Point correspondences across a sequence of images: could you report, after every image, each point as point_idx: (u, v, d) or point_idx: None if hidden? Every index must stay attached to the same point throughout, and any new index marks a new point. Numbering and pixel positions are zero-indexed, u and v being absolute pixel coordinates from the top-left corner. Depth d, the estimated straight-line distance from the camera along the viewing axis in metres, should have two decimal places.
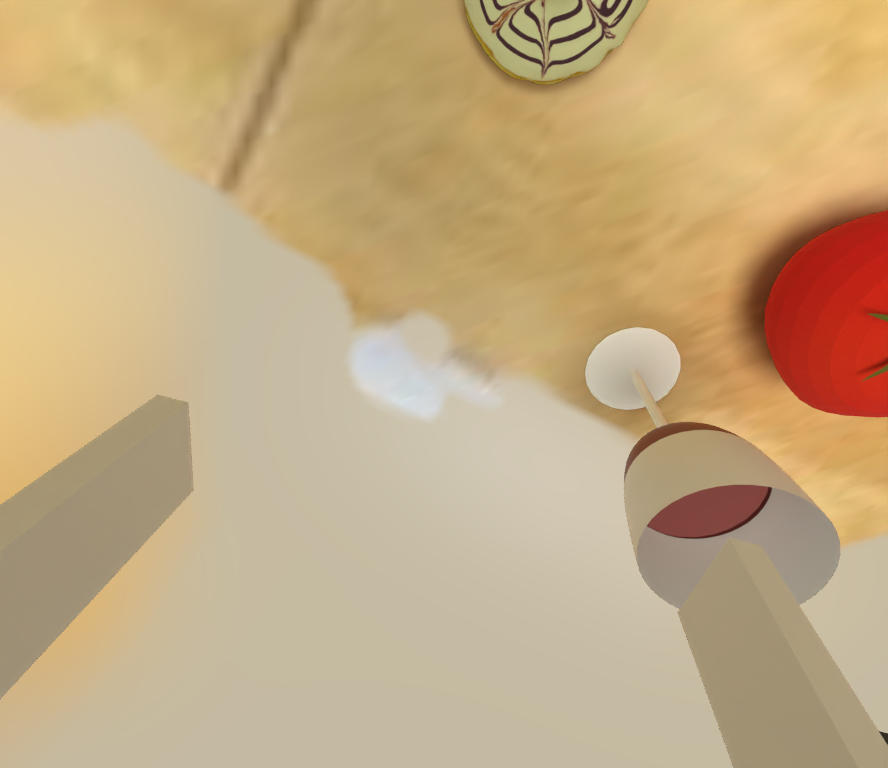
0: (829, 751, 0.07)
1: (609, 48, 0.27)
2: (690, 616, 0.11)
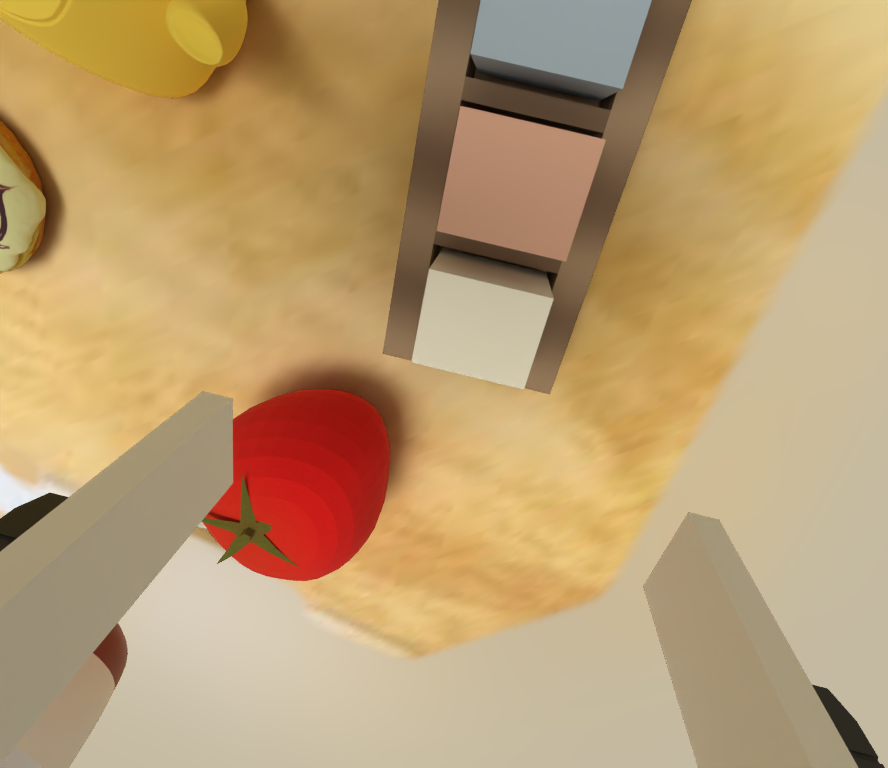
0: (763, 699, 0.08)
1: (13, 254, 0.30)
2: (653, 589, 0.12)
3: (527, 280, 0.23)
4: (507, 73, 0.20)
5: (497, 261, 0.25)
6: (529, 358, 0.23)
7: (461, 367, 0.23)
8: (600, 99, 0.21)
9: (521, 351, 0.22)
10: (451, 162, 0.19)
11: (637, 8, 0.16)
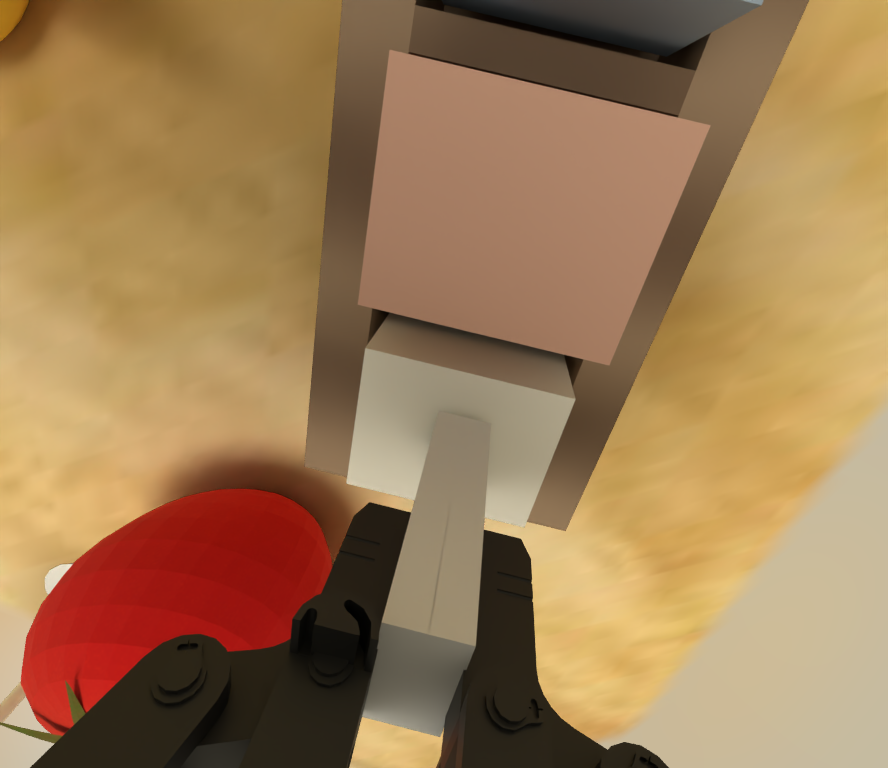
0: None
1: None
2: None
3: (530, 355, 0.14)
4: None
5: None
6: (533, 484, 0.14)
7: None
8: (671, 52, 0.11)
9: (522, 474, 0.14)
10: (378, 173, 0.09)
11: None
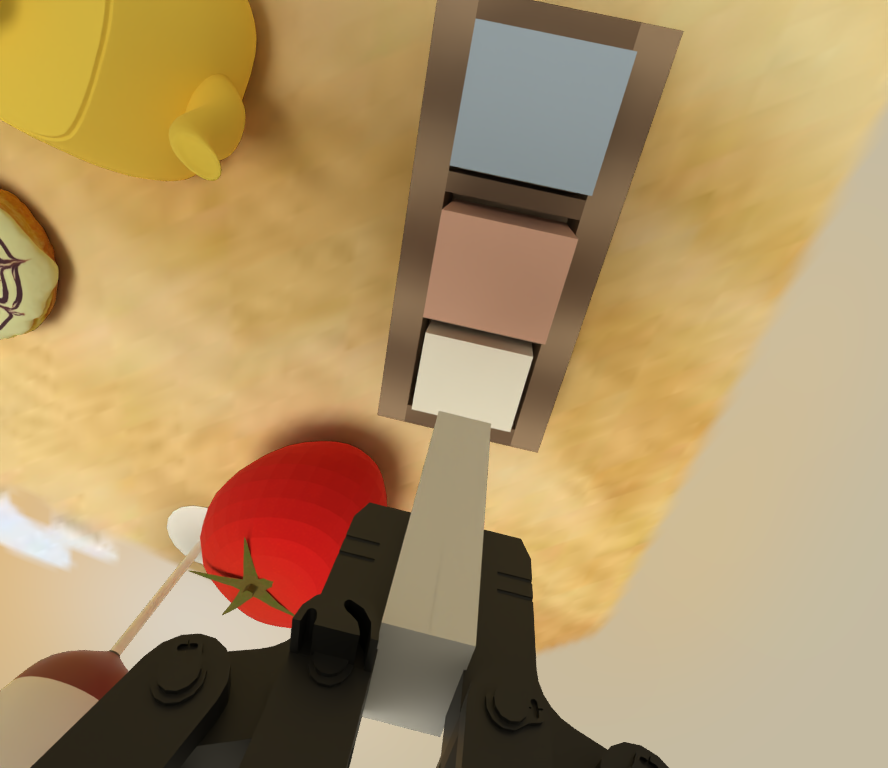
0: None
1: (28, 320, 0.32)
2: None
3: None
4: None
5: None
6: (514, 406, 0.26)
7: (455, 413, 0.27)
8: None
9: (507, 400, 0.26)
10: (435, 258, 0.20)
11: (602, 127, 0.17)
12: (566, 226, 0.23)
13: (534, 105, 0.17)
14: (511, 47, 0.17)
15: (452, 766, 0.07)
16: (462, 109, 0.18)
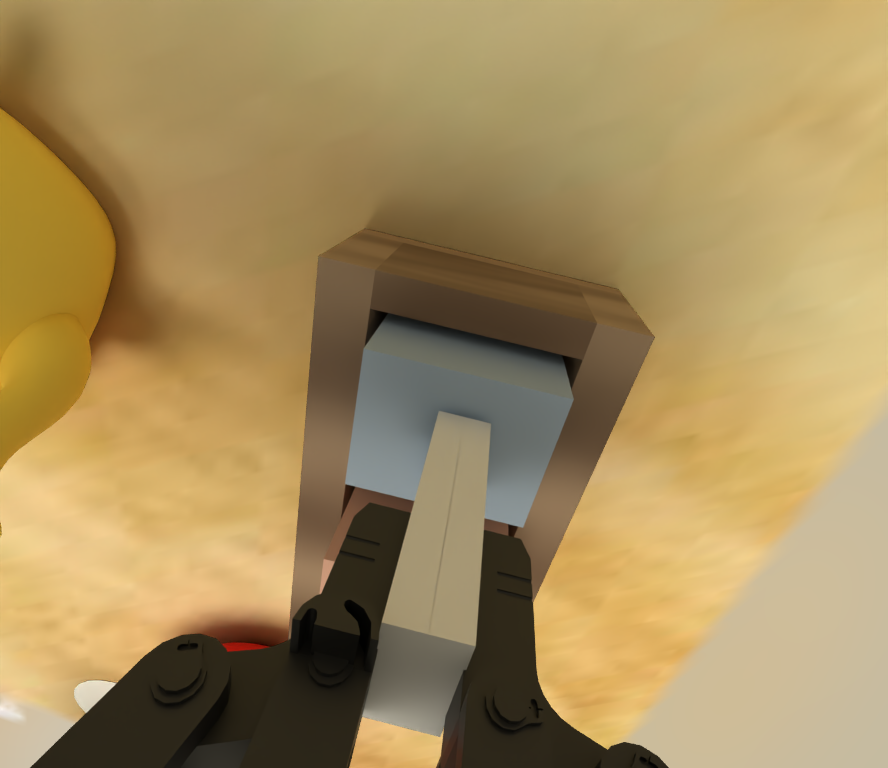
0: None
1: None
2: None
3: None
4: None
5: None
6: None
7: None
8: None
9: None
10: None
11: (533, 467, 0.14)
12: None
13: None
14: (411, 380, 0.13)
15: (452, 766, 0.07)
16: (355, 434, 0.14)
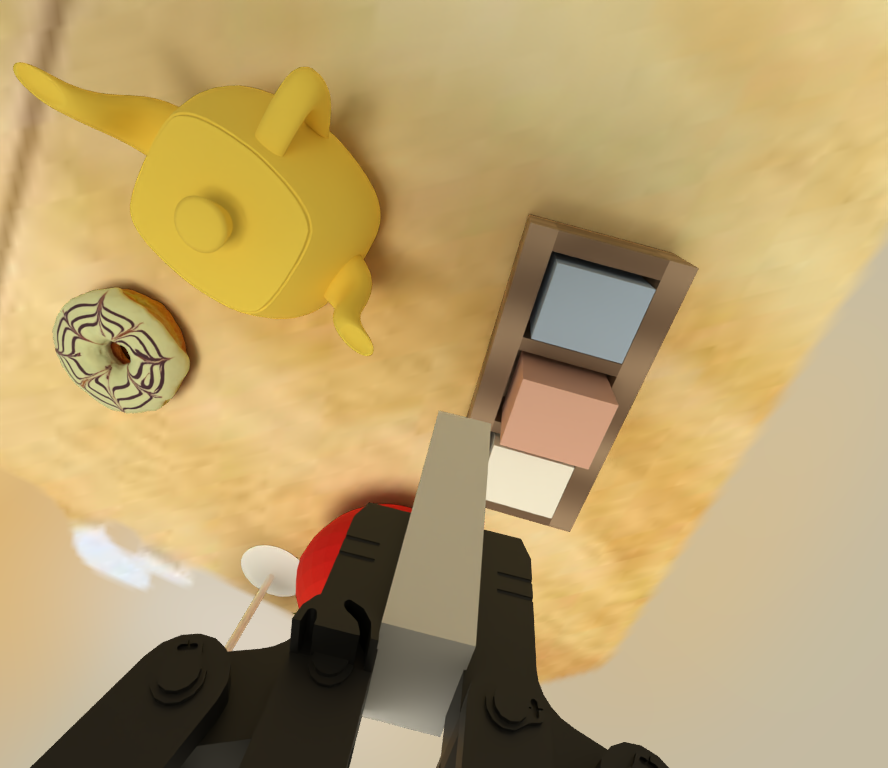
0: None
1: (163, 400, 0.39)
2: None
3: None
4: None
5: None
6: (556, 500, 0.34)
7: (510, 502, 0.35)
8: None
9: (551, 496, 0.34)
10: (514, 408, 0.28)
11: (631, 327, 0.28)
12: (606, 379, 0.31)
13: (589, 311, 0.28)
14: (578, 279, 0.27)
15: (452, 766, 0.07)
16: (543, 309, 0.28)
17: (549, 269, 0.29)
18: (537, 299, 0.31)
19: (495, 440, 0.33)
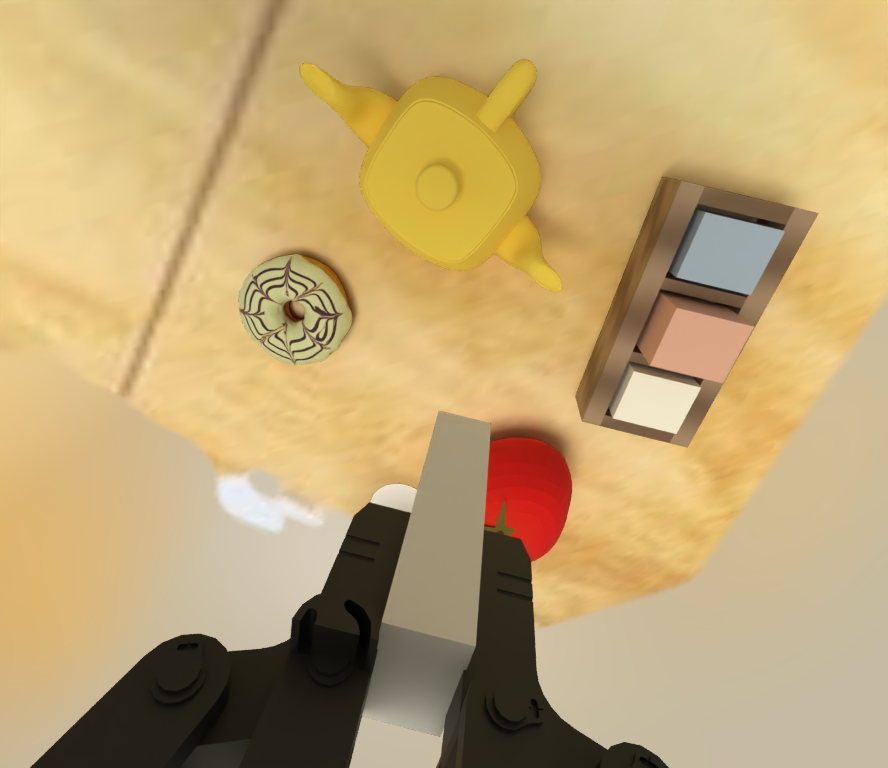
0: None
1: (330, 352, 0.46)
2: None
3: (679, 373, 0.41)
4: None
5: None
6: (682, 417, 0.41)
7: (642, 421, 0.41)
8: None
9: (678, 413, 0.41)
10: (666, 333, 0.35)
11: (761, 263, 0.34)
12: (732, 311, 0.37)
13: (728, 251, 0.34)
14: (721, 225, 0.34)
15: (452, 766, 0.07)
16: (689, 251, 0.35)
17: None
18: None
19: (633, 368, 0.40)
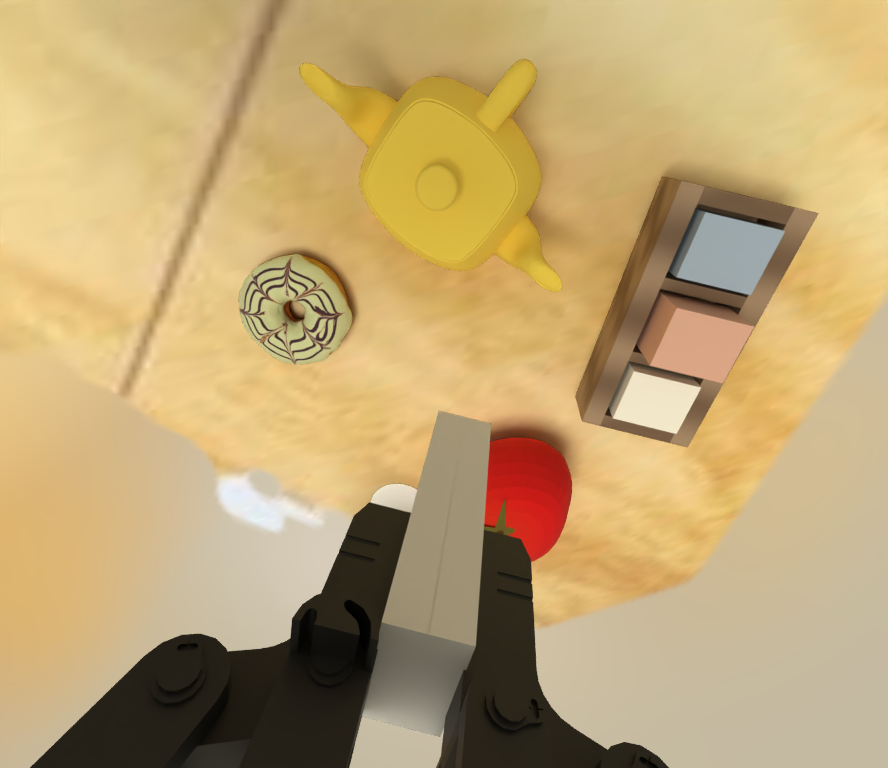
0: None
1: (330, 352, 0.46)
2: None
3: (679, 373, 0.41)
4: None
5: None
6: (682, 417, 0.41)
7: (642, 421, 0.41)
8: None
9: (678, 413, 0.41)
10: (666, 333, 0.35)
11: (762, 263, 0.34)
12: (732, 311, 0.37)
13: (728, 251, 0.34)
14: (721, 225, 0.34)
15: (452, 766, 0.07)
16: (689, 251, 0.35)
17: None
18: None
19: (633, 368, 0.40)
